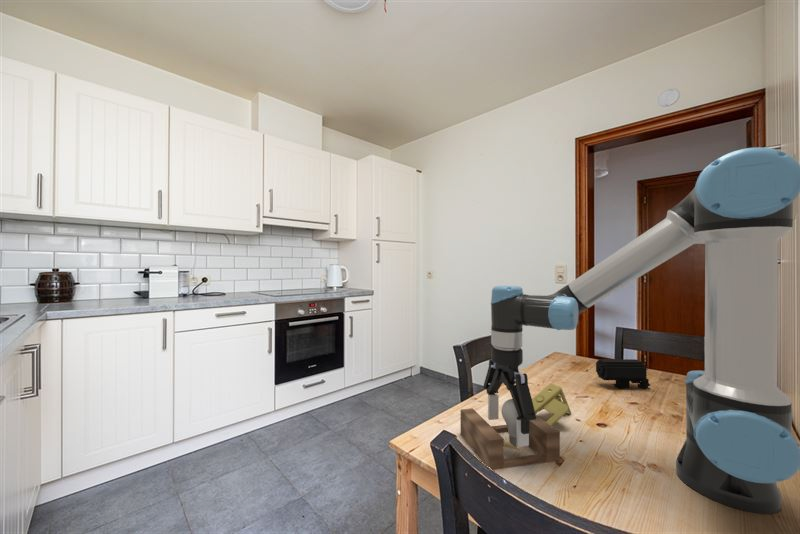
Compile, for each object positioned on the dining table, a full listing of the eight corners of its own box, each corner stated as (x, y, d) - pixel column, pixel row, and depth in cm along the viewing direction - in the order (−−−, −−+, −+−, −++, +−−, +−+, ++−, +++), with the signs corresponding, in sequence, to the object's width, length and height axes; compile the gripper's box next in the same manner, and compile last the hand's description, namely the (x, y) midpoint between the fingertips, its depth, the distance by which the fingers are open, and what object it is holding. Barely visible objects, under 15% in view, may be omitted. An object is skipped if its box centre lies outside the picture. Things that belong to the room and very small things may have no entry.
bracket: (590, 423, 93) (580, 396, 91) (556, 455, 88) (544, 427, 86) (560, 407, 103) (550, 382, 100) (529, 435, 98) (517, 409, 96)
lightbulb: (525, 455, 73) (525, 407, 73) (498, 447, 76) (498, 401, 76) (530, 443, 78) (530, 398, 78) (505, 436, 81) (504, 393, 81)
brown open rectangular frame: (559, 461, 75) (559, 431, 75) (489, 472, 71) (489, 440, 71) (519, 428, 90) (519, 403, 90) (460, 435, 86) (460, 409, 86)
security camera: (654, 390, 119) (654, 363, 119) (605, 389, 119) (604, 363, 119) (641, 383, 126) (641, 358, 126) (594, 383, 126) (594, 358, 126)
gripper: (553, 359, 69) (553, 457, 69) (495, 336, 94) (495, 408, 93) (522, 361, 68) (522, 462, 67) (471, 337, 92) (471, 411, 92)
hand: (506, 431), depth 80 cm, fingers open, 13 cm apart
